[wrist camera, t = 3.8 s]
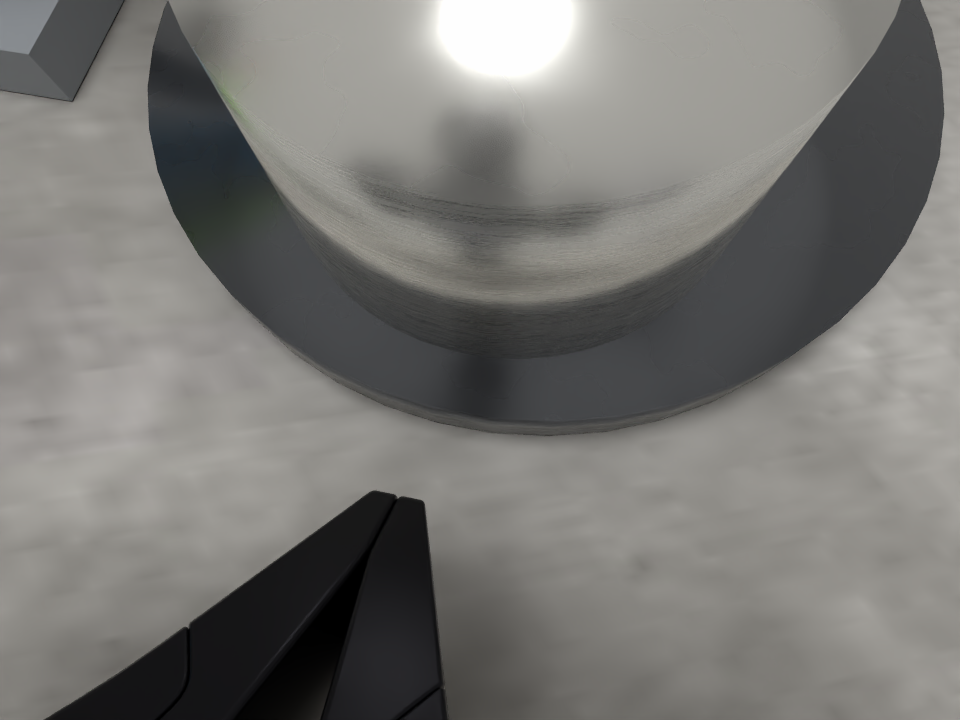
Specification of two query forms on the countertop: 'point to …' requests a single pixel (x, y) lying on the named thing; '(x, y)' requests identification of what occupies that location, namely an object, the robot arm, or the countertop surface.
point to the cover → (526, 145)
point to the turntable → (620, 363)
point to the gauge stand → (51, 43)
